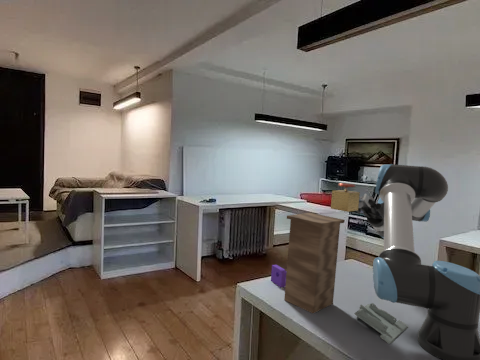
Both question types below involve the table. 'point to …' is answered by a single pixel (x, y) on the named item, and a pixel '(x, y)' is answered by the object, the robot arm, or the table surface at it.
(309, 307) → the stand
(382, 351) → the table surface
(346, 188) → the valve pipe
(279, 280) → the bracket
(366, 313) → the metal bracket
